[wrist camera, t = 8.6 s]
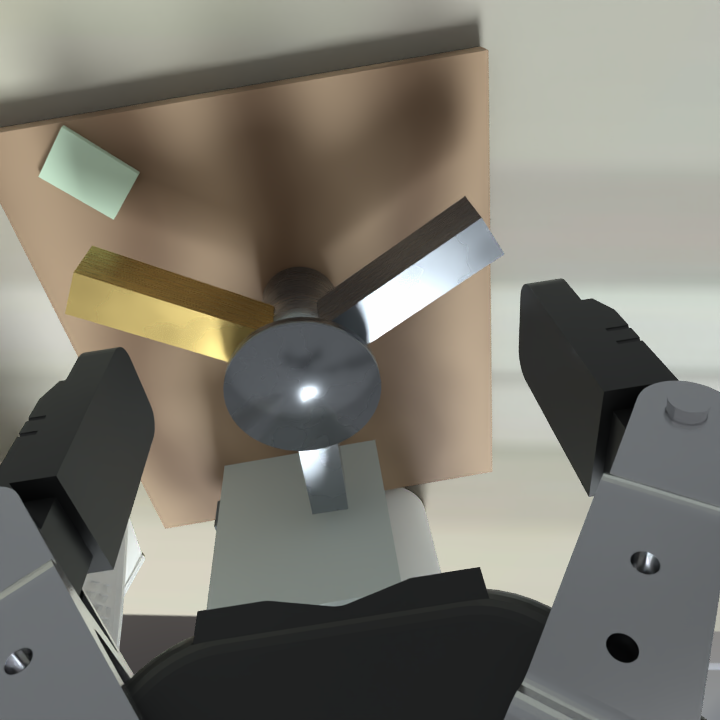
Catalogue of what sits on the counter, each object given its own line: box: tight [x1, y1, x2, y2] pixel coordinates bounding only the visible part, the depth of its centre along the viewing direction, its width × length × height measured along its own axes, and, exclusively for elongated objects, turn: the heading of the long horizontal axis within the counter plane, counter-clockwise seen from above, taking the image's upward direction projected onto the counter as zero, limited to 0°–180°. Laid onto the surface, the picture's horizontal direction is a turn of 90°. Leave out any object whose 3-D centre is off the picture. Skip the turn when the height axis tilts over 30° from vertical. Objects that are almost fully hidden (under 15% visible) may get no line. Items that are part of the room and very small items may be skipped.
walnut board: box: [0, 47, 492, 529], centre depth 30 cm, size 21×24×1 cm
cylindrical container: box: [384, 487, 441, 582], centre depth 30 cm, size 7×7×25 cm
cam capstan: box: [65, 196, 504, 514], centre depth 25 cm, size 16×14×7 cm
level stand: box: [207, 440, 401, 610], centre depth 31 cm, size 10×4×10 cm, turn 98°
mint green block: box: [38, 125, 140, 220], centre depth 24 cm, size 3×2×1 cm
